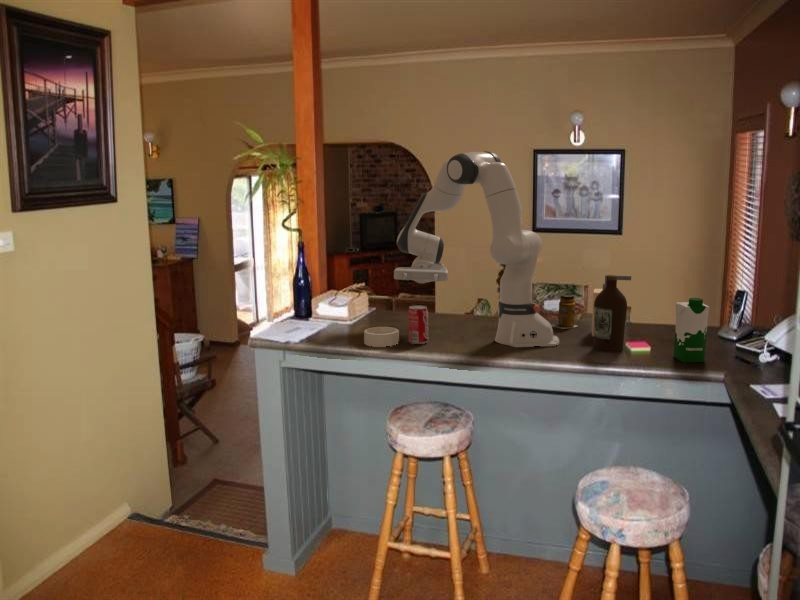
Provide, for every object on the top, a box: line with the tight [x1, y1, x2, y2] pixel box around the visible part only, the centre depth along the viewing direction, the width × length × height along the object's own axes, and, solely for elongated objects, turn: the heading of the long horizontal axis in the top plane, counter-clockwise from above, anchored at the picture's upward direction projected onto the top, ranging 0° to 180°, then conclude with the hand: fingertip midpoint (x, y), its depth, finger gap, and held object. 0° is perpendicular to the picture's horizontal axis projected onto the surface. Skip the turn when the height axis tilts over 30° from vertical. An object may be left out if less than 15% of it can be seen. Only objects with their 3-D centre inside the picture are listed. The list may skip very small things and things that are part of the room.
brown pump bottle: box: [593, 274, 628, 353], centre depth 238 cm, size 11×11×25 cm
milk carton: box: [673, 297, 711, 363], centre depth 224 cm, size 9×9×20 cm
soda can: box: [407, 304, 430, 345], centre depth 250 cm, size 7×7×13 cm
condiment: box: [551, 294, 578, 330], centre depth 273 cm, size 7×8×12 cm
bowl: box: [363, 326, 400, 348], centre depth 251 cm, size 12×12×4 cm
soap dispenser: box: [591, 274, 632, 337], centre depth 257 cm, size 13×9×22 cm
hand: (420, 278), depth 258 cm, fingers open, 8 cm apart
